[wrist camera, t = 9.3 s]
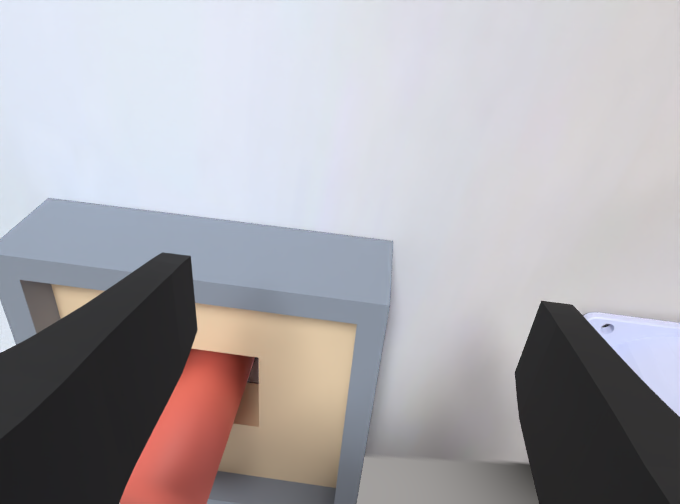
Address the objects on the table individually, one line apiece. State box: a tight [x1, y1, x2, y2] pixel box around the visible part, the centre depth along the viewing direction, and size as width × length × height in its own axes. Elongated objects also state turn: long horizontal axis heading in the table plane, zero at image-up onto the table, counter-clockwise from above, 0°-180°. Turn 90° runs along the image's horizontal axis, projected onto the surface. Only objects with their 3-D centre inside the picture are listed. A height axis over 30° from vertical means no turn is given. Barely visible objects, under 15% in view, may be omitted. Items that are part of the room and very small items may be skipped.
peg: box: [120, 349, 255, 504], centre depth 22 cm, size 3×3×8 cm
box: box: [0, 198, 393, 504], centre depth 24 cm, size 14×14×4 cm
